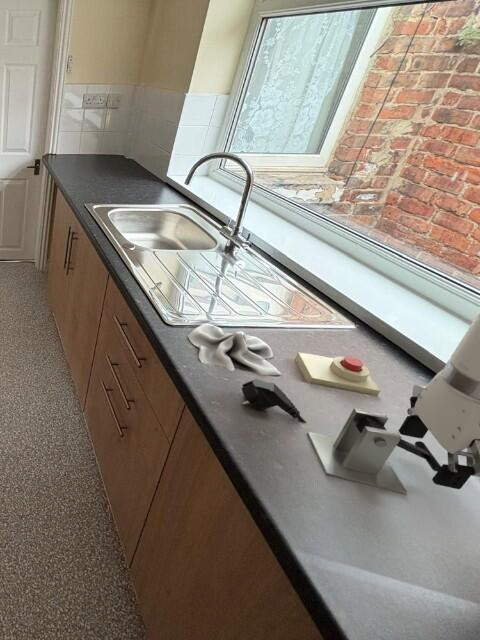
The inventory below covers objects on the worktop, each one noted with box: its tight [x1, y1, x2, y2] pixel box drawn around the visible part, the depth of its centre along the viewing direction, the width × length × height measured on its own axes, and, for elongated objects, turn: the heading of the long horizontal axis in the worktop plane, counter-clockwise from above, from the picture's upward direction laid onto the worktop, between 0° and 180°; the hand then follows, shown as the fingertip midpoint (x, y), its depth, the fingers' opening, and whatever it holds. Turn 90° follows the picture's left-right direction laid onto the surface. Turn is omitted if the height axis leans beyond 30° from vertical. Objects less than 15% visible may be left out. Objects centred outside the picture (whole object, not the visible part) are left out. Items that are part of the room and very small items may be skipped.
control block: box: [294, 351, 381, 397], centre depth 92 cm, size 12×9×4 cm
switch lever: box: [356, 417, 442, 473], centre depth 69 cm, size 11×5×2 cm, turn 72°
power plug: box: [241, 378, 308, 424], centre depth 84 cm, size 6×8×12 cm
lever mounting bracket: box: [306, 407, 408, 495], centre depth 71 cm, size 11×9×11 cm
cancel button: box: [341, 355, 364, 372], centre depth 90 cm, size 3×3×2 cm
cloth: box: [187, 323, 282, 377], centre depth 99 cm, size 22×19×6 cm
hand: (426, 458), depth 69 cm, fingers open, 9 cm apart
